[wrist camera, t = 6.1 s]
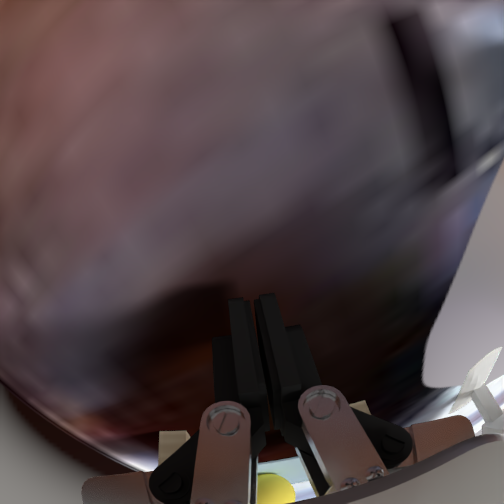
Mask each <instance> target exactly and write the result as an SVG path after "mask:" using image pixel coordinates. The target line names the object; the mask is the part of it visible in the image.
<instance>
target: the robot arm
mask: <svg viewBox="0 0 504 504" xmlns="http://www.w3.org/2000/svg"><path fill="white" fill-rule="evenodd" d="M228 304H229V314H230V324H231V333H232V335H228V336H220V337H213V338H212V352H213V373H214V391H215V404H213V405H211V406H210V407H208V408H207V409H206V411H205V412H204V413H203V416H202V419H201V424H200V429H199V430H198V431H197V432H196V433H195V434H194V435H193V436H192V437H191V438H190V439H188V440H187V441H186V442H185V443H184V444H183V445H182V446H181V447H180V448H179V449H177V450H176V451H175V452H174V453H173V454H172V455H171V456H170V457H168V458H167V459H166V460H165V461H164V462H163V463H161V464H160V465H159V466H158V467H157V468H156V469H155V470H154V471H150V472H143V471H139V472H133V473H126V474H118V475H109V476H101V477H100V476H99V477H93V478H89V479H88V480H86V481H85V482H84V484H83V486H82V500H83V504H257V480H258V454H259V452H260V451H261V450H262V449H263V448H264V447H265V446H266V438H265V431H270V426H269V414H268V402H267V395H268V400H269V405H270V410H271V415H272V420H273V425H274V429H275V430H277V429H280V430H281V435H282V436H284V439H285V442H287V443H289V444H291V445H293V446H294V447H295V450H296V452H297V454H298V456H299V459H300V461H301V463H302V466H303V468H304V470H305V472H306V475H307V477H308V479H309V481H310V484H311V486H312V488H313V490H314V492H315V495H316V497H315V498H311V499H307V500H302V501H297V502H292V503H286V504H504V434H502V433H489V434H483V435H479V436H475V434H474V430H473V427H472V424H471V422H470V420H468V419H467V418H466V417H464V416H461V415H456V416H451V417H447V418H443V419H438V420H433V421H429V422H423V423H418V424H412V425H411V426H410V427H406V428H402V427H400V426H398V425H395V424H393V423H390V422H387V421H385V420H382V419H380V418H377V417H375V416H372V415H370V414H367V413H365V412H362V411H360V410H357V409H355V408H353V407H350V406H349V404H348V402H347V401H346V399H345V397H344V396H343V395H342V393H341V392H340V391H339V390H337V389H335V388H334V387H330V386H325V385H322V384H321V381H320V378H319V375H318V372H317V369H316V366H315V364H314V361H313V358H312V355H311V352H310V349H309V346H308V344H307V341H306V338H305V335H304V332H303V330H302V327H301V326H300V325H295V326H289V327H284V323H283V320H282V317H281V313H280V310H279V307H278V303H277V300H276V297H275V294H274V293H270V294H263V295H259V299H256V300H254V306H255V316H256V326H257V336H258V343H257V338H256V333H255V328H254V322H253V317H252V312H251V306H250V301H243V297H242V298H235V299H228ZM258 346H259V348H258ZM259 353H260V354H259ZM265 384H266V385H265ZM266 389H267V392H266Z"/></svg>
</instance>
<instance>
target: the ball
mask: <svg viewBox="0 0 504 504" xmlns="http://www.w3.org/2000/svg"><path fill="white" fill-rule="evenodd" d="M292 502H295V491H294V488H293V486H292V485H291V483H290V482H289V481H288V480H286V479H285V478H283V477H281V476H279V475H276V474H269V473H267V474H259V475H258V480H257V504H286V503H292Z"/></svg>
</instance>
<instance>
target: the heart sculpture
mask: <svg viewBox="0 0 504 504" xmlns="http://www.w3.org/2000/svg"><path fill="white" fill-rule="evenodd" d="M501 349H502V347H500V348H497V349H495V350H493V351H491V352H490V353H488V354H487V355H486V356H485V357H484V358H483V359H481V360H480V361H479V362H478V363H477V364H476V365H475V366H474V367H473V368H471V370H470V371H469V372H468V374H467V376H466V379H465V381H464V383H463V385H462V388H461V390H460V392H459V394H458V396H457V398H456V401H455V403H454V405H453V407H452V409H451V411H450V413H452V412H455V411H457V410H459V409H460V408H462V407H464V406H465V405H466V404H468V403H469V402H470V401H471V400H473V402H474V403H475V405H476V407H477V409H478V410H479V412H480V414H481V416H482V417H483V419H484V421H485V424H483V425H482V435H483V434H489V433H502V434H504V409H503V410H501V408H500V407H499V405H498V403H497V402H496V400H495V399H494V397H493V395H492V394H491V392H490V391H489V389H488V387H487V386H486V384H485V382H486V380H487V377H488V376H489V374H490V372H491V370H492V368H493V366H494V364H495V362H496V360H497V358H498V355H499V353H500V351H501ZM450 413H449V414H450Z"/></svg>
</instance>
